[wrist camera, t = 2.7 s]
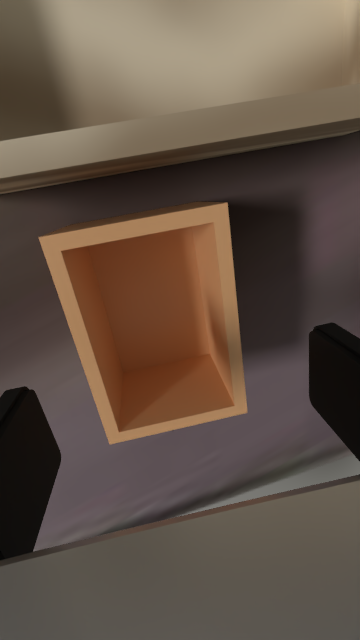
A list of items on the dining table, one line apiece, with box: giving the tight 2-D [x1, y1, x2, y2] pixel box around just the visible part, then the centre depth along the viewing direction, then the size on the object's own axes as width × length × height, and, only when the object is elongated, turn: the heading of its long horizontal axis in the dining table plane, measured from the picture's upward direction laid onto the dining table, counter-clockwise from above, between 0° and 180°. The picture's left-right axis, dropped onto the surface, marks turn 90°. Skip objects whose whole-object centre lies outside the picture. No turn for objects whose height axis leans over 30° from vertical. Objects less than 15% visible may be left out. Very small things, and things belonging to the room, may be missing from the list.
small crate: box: [39, 201, 247, 444], centre depth 16 cm, size 10×7×6 cm
